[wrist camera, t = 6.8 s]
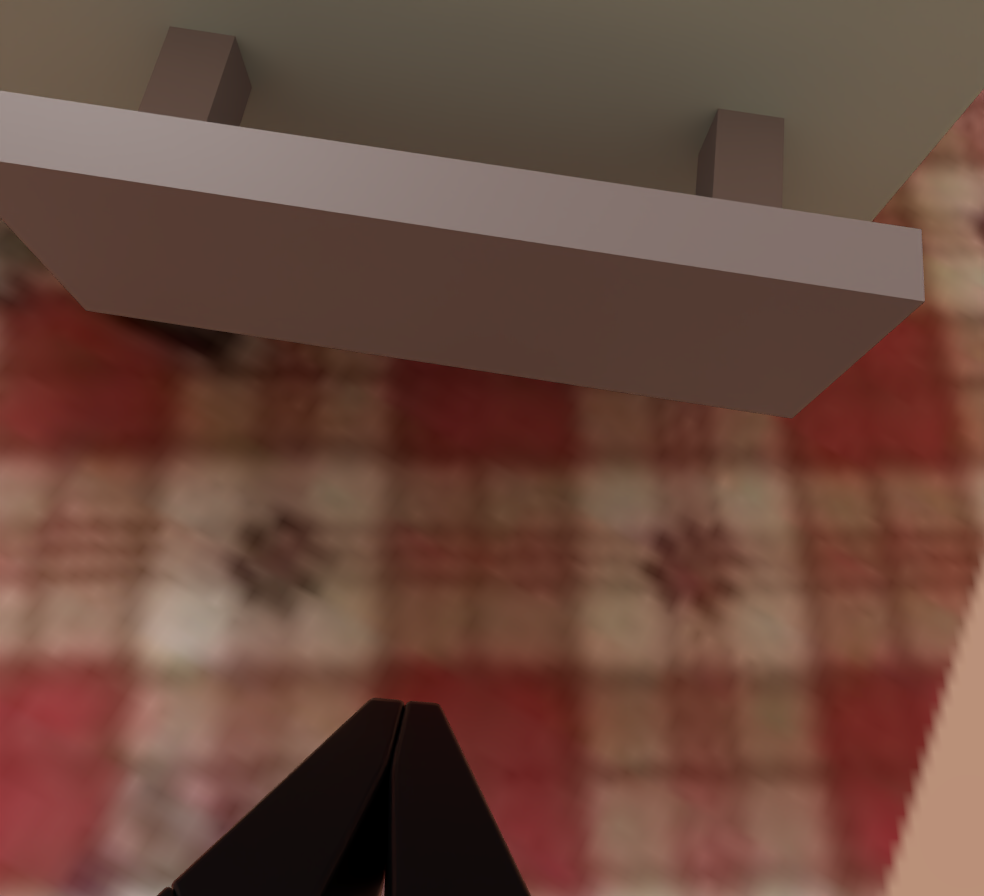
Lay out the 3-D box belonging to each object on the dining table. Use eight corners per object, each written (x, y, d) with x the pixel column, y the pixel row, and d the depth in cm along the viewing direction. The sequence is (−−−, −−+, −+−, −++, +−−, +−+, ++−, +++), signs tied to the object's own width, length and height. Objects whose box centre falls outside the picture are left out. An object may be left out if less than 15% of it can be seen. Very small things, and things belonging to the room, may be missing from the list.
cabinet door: (799, 473, 18) (1088, 271, 10) (-173, 324, 18) (-694, 3, 10) (802, 263, 20) (1046, -55, 11) (-77, 130, 20) (-450, -275, 12)
